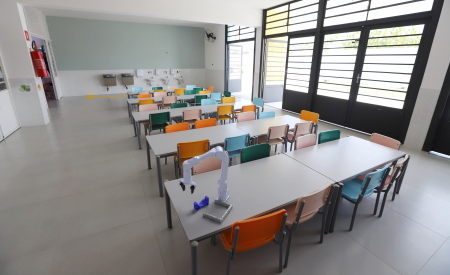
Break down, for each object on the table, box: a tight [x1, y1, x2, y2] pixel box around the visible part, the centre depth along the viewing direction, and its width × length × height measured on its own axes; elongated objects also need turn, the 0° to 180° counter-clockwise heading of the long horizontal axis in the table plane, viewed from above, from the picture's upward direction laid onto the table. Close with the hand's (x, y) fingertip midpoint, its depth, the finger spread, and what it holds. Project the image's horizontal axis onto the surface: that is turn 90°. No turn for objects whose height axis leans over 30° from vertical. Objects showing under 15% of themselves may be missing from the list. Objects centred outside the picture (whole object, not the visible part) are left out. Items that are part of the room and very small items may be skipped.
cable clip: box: [193, 195, 210, 211], centre depth 166 cm, size 12×4×6 cm, turn 134°
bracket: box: [202, 198, 233, 223], centre depth 161 cm, size 18×14×2 cm
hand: (188, 191), depth 168 cm, fingers open, 7 cm apart
